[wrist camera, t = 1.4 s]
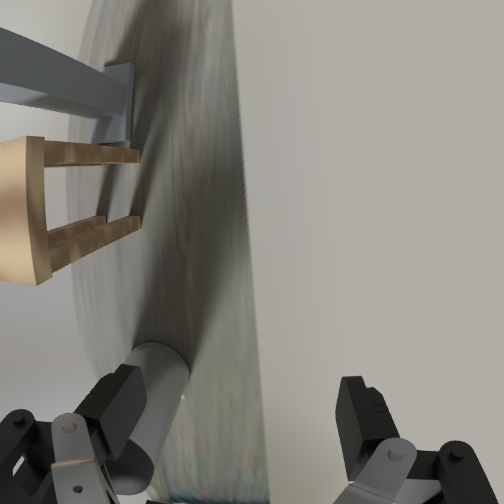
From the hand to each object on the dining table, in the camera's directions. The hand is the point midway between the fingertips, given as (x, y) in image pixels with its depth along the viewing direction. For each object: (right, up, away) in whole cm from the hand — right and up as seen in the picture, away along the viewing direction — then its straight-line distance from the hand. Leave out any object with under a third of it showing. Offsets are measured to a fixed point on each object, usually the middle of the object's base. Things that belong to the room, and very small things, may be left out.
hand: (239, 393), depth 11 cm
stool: (-16, +13, +24) cm, 32 cm away
